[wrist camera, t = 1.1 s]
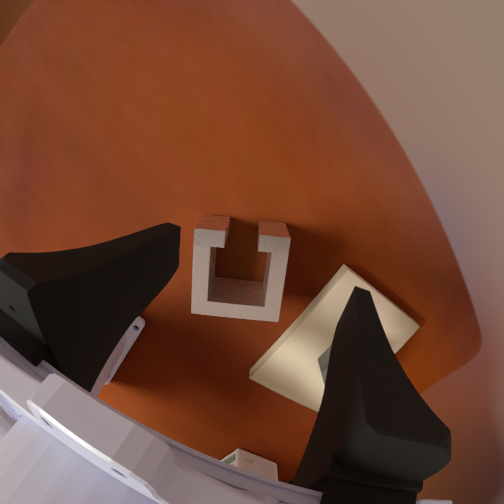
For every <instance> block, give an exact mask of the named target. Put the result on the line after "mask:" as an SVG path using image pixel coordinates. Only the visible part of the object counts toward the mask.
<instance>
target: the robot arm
mask: <svg viewBox="0 0 504 504" xmlns="http://www.w3.org/2000/svg"><path fill="white" fill-rule="evenodd" d="M180 230H181V227H180V226H177V225H174V224H171V223H164V224H160V225H157V226H154V227H151V228H148V229H145V230H142V231H139V232H136V233H133V234H130V235H127V236H124V237H120V238H117V239H114V240H111V241H107V242H104V243H100V244H96V245H92V246H87V247H83V248H78V249H71V250H64V251H56V252H44V253H12V252H10V253H8V254H6V255H5V256H4V257H2V258H1V259H0V504H452V501H450V500H432V499H423V500H418V501H416V497H417V492H420V491H421V490H422V487H423V480H425V479H427V478H428V477H430V476H432V475H433V474H435V473H437V472H438V471H440V470H441V469H443V468H444V467H445V466H446V465H447V464H448V463H449V461H450V460H451V433H450V430H449V428H448V427H447V426H445V424H444V423H443V422H442V421H441V420H440V419H439V418H438V417H437V416H436V415H435V414H434V412H433V411H432V410H431V409H430V407H429V406H428V405H427V404H426V402H425V401H424V400H423V399H422V397H421V396H420V395H419V393H418V392H417V391H416V389H415V388H414V386H413V385H412V383H411V382H410V380H409V379H408V377H407V375H406V374H405V372H404V370H403V369H402V367H401V365H400V363H399V361H398V360H397V358H396V356H395V354H394V352H393V350H392V348H391V345H390V343H389V341H388V339H387V336H386V334H385V331H384V329H383V326H382V324H381V321H380V318H379V316H378V313H377V310H376V307H375V304H374V301H373V298H372V295H371V293H370V291H368V290H366V289H363V288H360V287H357V286H355V287H354V289H353V291H352V293H351V296H350V298H349V300H348V302H347V304H346V306H345V308H344V310H343V313H342V315H341V317H340V319H339V321H338V323H337V326H336V330H335V333H334V337H333V341H332V344H331V350H330V356H329V363H328V369H327V375H326V381H325V387H324V393H323V397H322V402H321V405H320V409H319V412H318V415H317V418H316V422H315V425H314V428H313V431H312V433H311V436H310V439H309V442H308V445H307V447H306V450H305V453H304V455H303V458H302V461H301V463H300V466H299V468H298V470H297V473H296V475H295V477H294V480H293V482H292V484H288V483H284V482H281V481H277V480H274V479H271V478H268V477H265V476H262V475H259V474H256V473H253V472H250V471H247V470H244V469H241V468H239V467H236V466H233V465H231V464H228V463H225V462H223V461H220V460H218V459H215V458H213V457H210V456H208V455H206V454H203V453H201V452H199V451H196V450H194V449H192V448H190V447H187V446H185V445H183V444H181V443H179V442H177V441H175V440H173V439H170V438H168V437H166V436H164V435H162V434H160V433H158V432H156V431H154V430H153V429H151V428H149V427H147V426H145V425H143V424H141V423H139V422H138V421H136V420H134V419H132V418H130V417H129V416H127V415H125V414H123V413H122V412H120V411H118V410H117V409H115V408H113V407H112V406H110V405H108V404H107V403H105V402H103V401H102V400H100V399H99V398H97V397H98V395H99V393H100V391H101V389H102V388H103V386H104V384H109V382H110V381H111V379H112V377H113V376H114V374H115V372H116V371H117V369H118V368H119V366H120V364H121V363H122V361H123V359H124V358H125V356H126V355H127V353H128V351H129V350H130V348H131V346H132V345H133V343H134V342H135V340H136V339H137V337H138V335H139V334H140V332H141V331H142V329H143V327H144V326H145V321H144V319H143V318H141V317H140V316H139V315H140V314H141V313H142V311H143V310H144V309H145V308H146V307H147V306H148V305H149V304H150V303H151V302H152V300H153V299H154V298H155V297H156V296H157V295H158V294H159V293H160V292H161V291H162V289H163V288H164V287H165V286H166V285H167V283H168V282H169V281H170V279H171V278H172V276H173V275H174V273H175V272H176V270H177V269H178V267H179V248H180ZM135 325H136V326H138V328H136V327H135Z"/></svg>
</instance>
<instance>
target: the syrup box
mask: <svg viewBox="0 0 504 504" xmlns="http://www.w3.org/2000/svg"><path fill="white" fill-rule="evenodd" d="M220 461H223V462H225V463H228V464H231V465H233V466H236V467H239V468H241V469H244V470H247V471H250V472H253V473H256V474H259V475H262V476H265V477H268V478H271V479H274V480H277V481H278V473H277V464H276V463H274V462H272V461H270V460H267V459H265V458H262V457H260V456H257V455H255V454H252V453H250V452H247V451H245V450H242V449H240V448H237V449H236V450H235V451H234V452H232V453H231V454H229V455H228V456H226V457H225V458H223V459H222V460H220Z"/></svg>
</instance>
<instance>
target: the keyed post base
mask: <svg viewBox="0 0 504 504" xmlns="http://www.w3.org/2000/svg"><path fill="white" fill-rule="evenodd" d="M355 286H357V287H360V288H363V289H366V290H368V291H370V293H371V295H372V298H373V301H374V304H375V307H376V310H377V313H378V316H379V318H380V321H381V324H382V326H383V329H384V331H385V334H386V336H387V339H388V341H389V343H390V345H391V348H392V350H393V352H394V354H395V353H396V352H397V351H398V350H399V349H400V348H401V347H402V346H403V345H404V344H405V343H406V342H407V341H408V340H409V338H410V337H411V336H412V335H413V334H414V333H415V332H416V331H417V330H418V329H419V327H420V326H419V325H418V323H417V322H416V321H415V320H414V319H413V318H412V317H411V316H409V315H408V314H407V313H406V312H404V311H403V310H402V309H401V308H399V307H398V306H397V305H396V304H394V303H393V302H392V301H391V300H390V299H388V298H387V297H386V296H385V295H383V294H382V293H381V292H379V291H378V290H377V289H376V288H374V287H373V286H372V285H371V284H369V283H368V282H367V281H366V280H364V279H363V278H362V277H360V276H359V275H358V274H357V273H355V272H354V271H353V270H351V269H350V268H349V267H348V266H346V265H345V264H343V265H342V266H341V268H340V269H339V270H338V271H337V272H336V274H335V275H334V276H333V277H332V278H331V280H330V281H329V282H328V283H327V284H326V286H325V287H324V288H323V289H322V290H321V291H320V293H319V294H318V295H317V296H316V297H315V298H314V300H313V301H312V302H311V303H310V304H309V305H308V306H307V308H306V309H305V310H304V311H303V312H302V313H301V314H300V316H299V317H298V318H297V319H296V320H295V321H294V322H293V323H292V324H291V326H290V327H289V328H288V329H287V330H286V331H285V332H284V333H283V334H282V335H281V337H280V338H279V339H278V340H277V341H276V342H275V343H274V344H273V345H272V346H271V347H270V348H269V350H268V351H267V352H266V353H265V354H264V355H263V356H262V357H261V358H260V359H259V360H258V361H257V362H256V363H255V364H254V365H253V366H252V368H251V369H250V374H249V378H250V379H252V380H254V381H255V382H257V383H259V384H261V385H263V386H265V387H267V388H269V389H271V390H273V391H275V392H277V393H279V394H281V395H283V396H285V397H287V398H289V399H291V400H293V401H295V402H297V403H299V404H301V405H304V406H306V407H308V408H310V409H312V410H314V411H316V412H319V409H320V405H321V402H322V397H323V393H324V387H325V381H326V375H327V369H328V363H329V356H330V350H331V344H332V341H333V337H334V333H335V330H336V326H337V323H338V321H339V319H340V317H341V315H342V313H343V310H344V308H345V306H346V304H347V302H348V300H349V298H350V296H351V293H352V291H353V289H354V287H355Z"/></svg>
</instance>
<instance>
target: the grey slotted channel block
mask: <svg viewBox="0 0 504 504" xmlns="http://www.w3.org/2000/svg"><path fill="white" fill-rule="evenodd" d="M229 227H230V217H227V216H216V215H204V216H203V218H202V219H201V220H200V222H199V223H198V224H197V226H196V227H195V229H194V249H193V272H192V304H191V313H194V314H203V315H211V316H221V317H230V318H240V319H251V320H262V321H274V322H278V320H279V313H280V307H281V301H282V294H283V288H284V281H285V275H286V268H287V261H288V254H289V247H290V240H291V237H290V235H289V232H288V229H287V227H286V224H285V222H276V221H267V220H259V225H258V251H261V252H267V254H266V262H265V270H264V278H263V282H262V281H251V280H241V279H231V278H222V277H215V263H216V248H217V247H221V248H224V246H225V243H226V239H227V236H228V233H229Z"/></svg>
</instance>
